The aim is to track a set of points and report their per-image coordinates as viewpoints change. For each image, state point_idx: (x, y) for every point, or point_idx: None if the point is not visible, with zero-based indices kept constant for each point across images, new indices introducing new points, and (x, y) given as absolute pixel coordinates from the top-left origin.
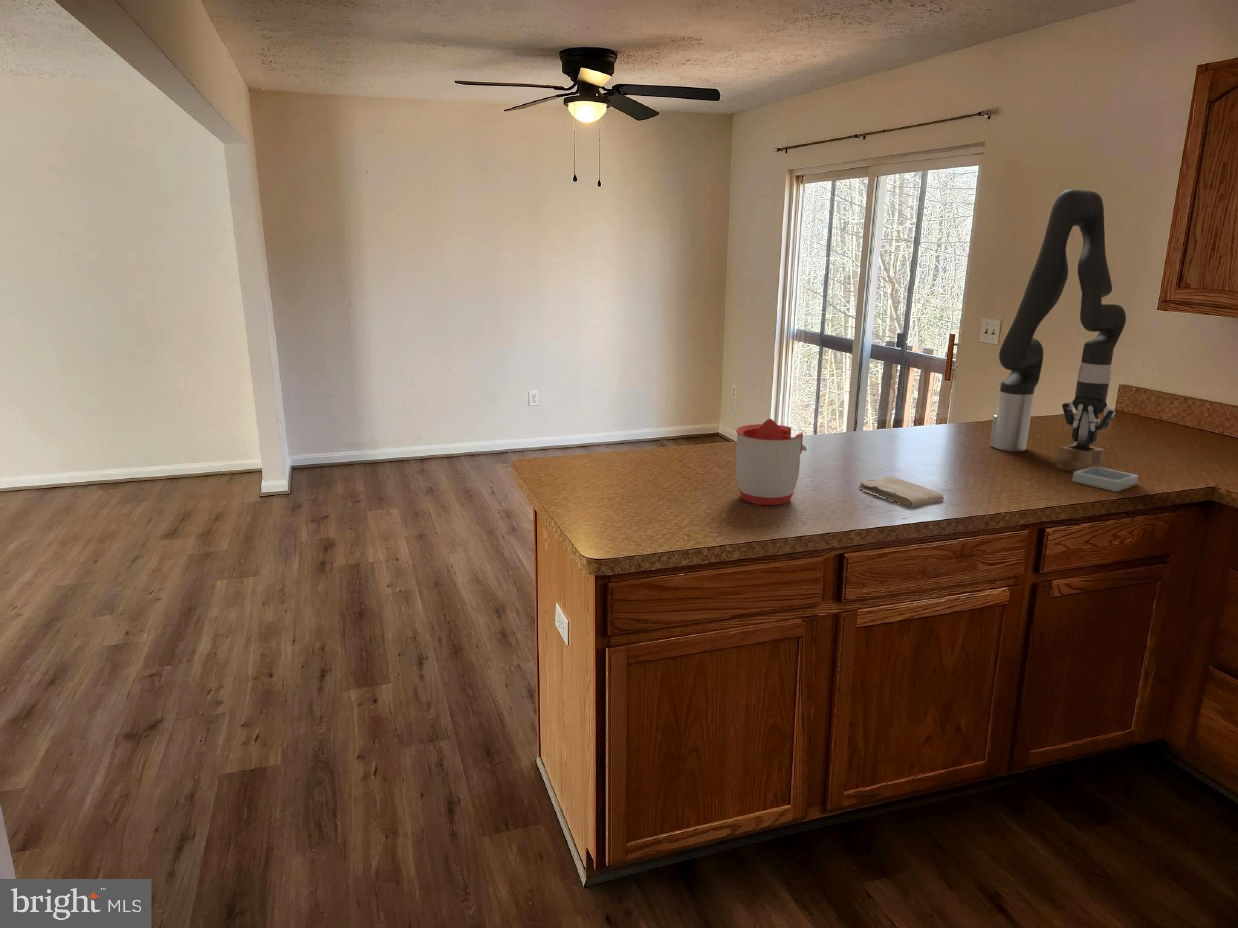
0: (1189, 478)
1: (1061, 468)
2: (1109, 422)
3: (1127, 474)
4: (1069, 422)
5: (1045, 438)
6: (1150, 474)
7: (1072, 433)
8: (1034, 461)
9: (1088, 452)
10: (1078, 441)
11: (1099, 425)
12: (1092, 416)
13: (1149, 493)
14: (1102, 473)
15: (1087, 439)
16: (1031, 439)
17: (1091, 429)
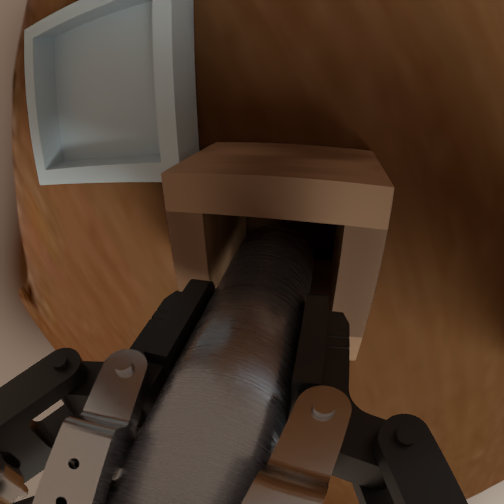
0: (82, 340)
1: (347, 149)
2: (40, 425)
3: (57, 167)
4: (395, 436)
5: (462, 452)
6: (126, 324)
7: (348, 347)
8: (487, 203)
9: (178, 189)
10: (276, 278)
11: (54, 382)
12: (53, 475)
13: (15, 114)
14: (144, 156)
15: (207, 304)
16: (493, 431)
17: (136, 362)
